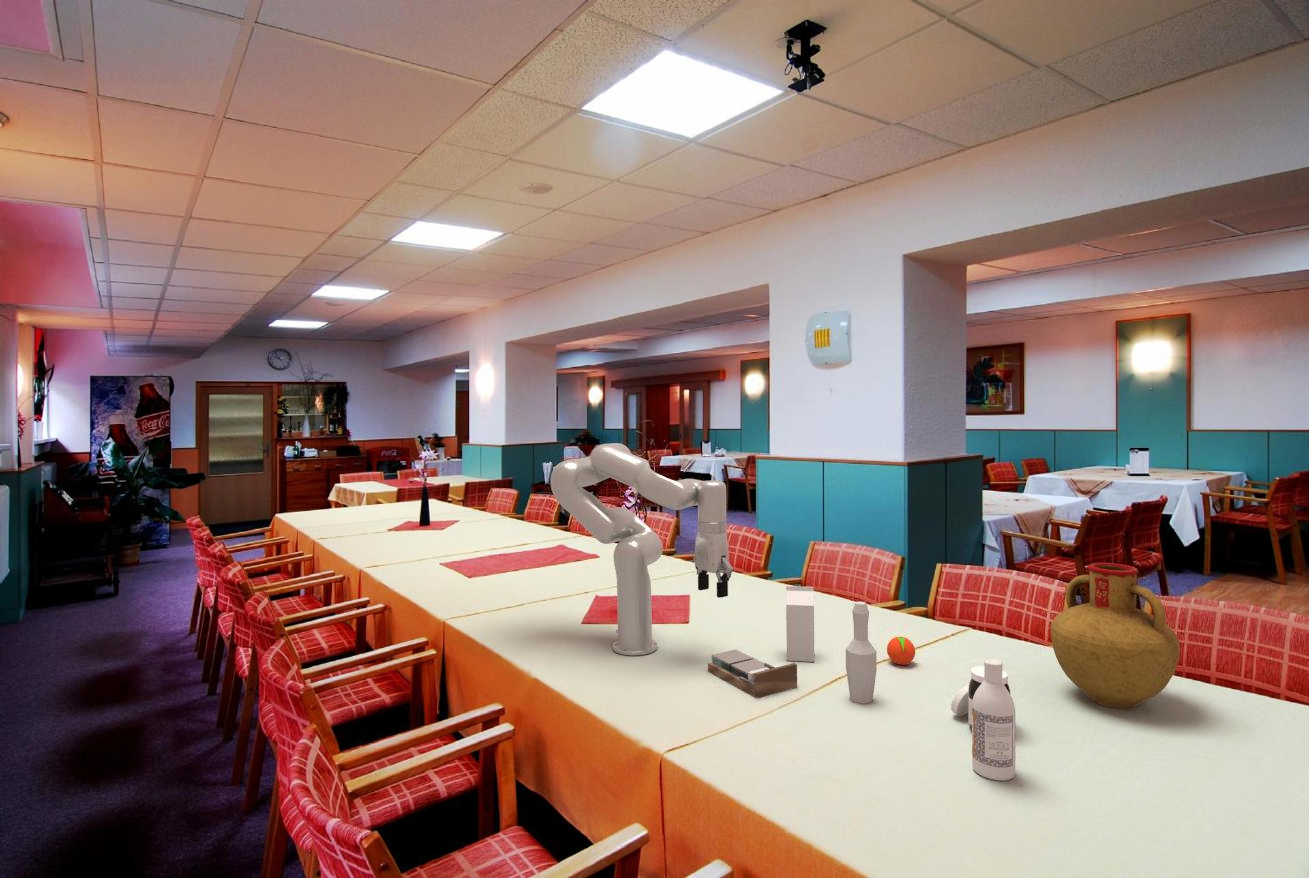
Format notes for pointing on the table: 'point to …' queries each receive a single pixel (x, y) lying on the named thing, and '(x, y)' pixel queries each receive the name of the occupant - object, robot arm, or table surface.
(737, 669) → the white square block
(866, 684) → the faceted bottle
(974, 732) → the bath foam
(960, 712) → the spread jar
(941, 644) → the table surface
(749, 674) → the pusher
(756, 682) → the lane
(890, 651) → the clementine
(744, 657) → the tin
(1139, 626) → the vase
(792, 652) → the milk carton
